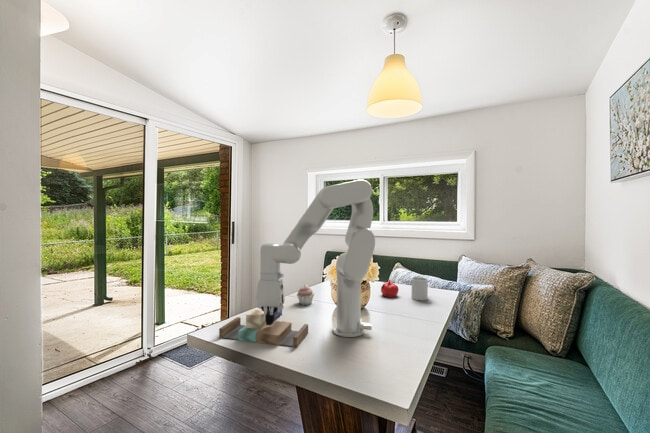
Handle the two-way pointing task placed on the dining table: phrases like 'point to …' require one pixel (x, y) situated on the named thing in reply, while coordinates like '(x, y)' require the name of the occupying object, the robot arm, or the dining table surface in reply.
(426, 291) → the mug
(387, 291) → the pomegranate
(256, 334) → the board
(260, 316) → the beech block
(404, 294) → the dining table surface
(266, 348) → the dining table surface
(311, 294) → the cupcake
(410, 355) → the dining table surface
